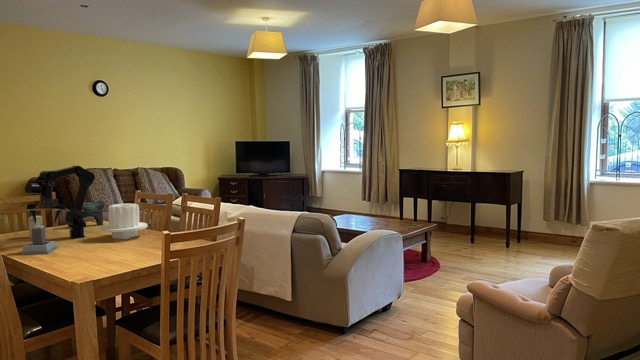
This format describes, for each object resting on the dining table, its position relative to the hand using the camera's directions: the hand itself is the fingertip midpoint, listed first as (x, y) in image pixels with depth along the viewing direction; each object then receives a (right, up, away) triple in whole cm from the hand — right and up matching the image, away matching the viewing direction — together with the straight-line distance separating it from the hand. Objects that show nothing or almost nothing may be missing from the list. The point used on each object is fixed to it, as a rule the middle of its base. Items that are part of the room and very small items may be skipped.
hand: (45, 223), depth 258 cm
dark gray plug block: (+5, -12, -14) cm, 19 cm away
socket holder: (+5, -13, -14) cm, 20 cm away
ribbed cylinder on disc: (+35, -10, +20) cm, 42 cm away
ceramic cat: (-2, -7, +55) cm, 55 cm away
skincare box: (-18, -10, +22) cm, 30 cm away
